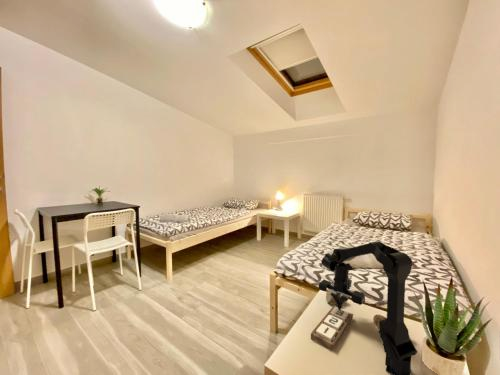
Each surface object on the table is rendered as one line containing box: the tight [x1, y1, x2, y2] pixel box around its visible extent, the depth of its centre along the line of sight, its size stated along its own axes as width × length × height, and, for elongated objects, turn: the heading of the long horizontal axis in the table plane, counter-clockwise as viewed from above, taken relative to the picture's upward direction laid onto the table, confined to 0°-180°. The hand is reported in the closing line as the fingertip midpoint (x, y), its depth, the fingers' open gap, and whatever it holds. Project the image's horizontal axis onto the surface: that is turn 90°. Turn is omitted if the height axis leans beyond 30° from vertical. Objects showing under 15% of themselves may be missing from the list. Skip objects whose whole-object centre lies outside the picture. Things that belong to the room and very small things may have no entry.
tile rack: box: [310, 305, 354, 352], centre depth 93 cm, size 9×24×2 cm, turn 139°
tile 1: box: [316, 323, 337, 342], centre depth 87 cm, size 6×6×2 cm
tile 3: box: [330, 306, 350, 322], centre depth 98 cm, size 6×6×2 cm
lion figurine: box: [373, 314, 387, 335], centre depth 89 cm, size 15×5×9 cm, turn 91°
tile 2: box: [324, 315, 343, 331], centre depth 93 cm, size 6×6×2 cm
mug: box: [325, 288, 348, 305], centre depth 112 cm, size 8×10×10 cm
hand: (339, 309), depth 98 cm, fingers closed
